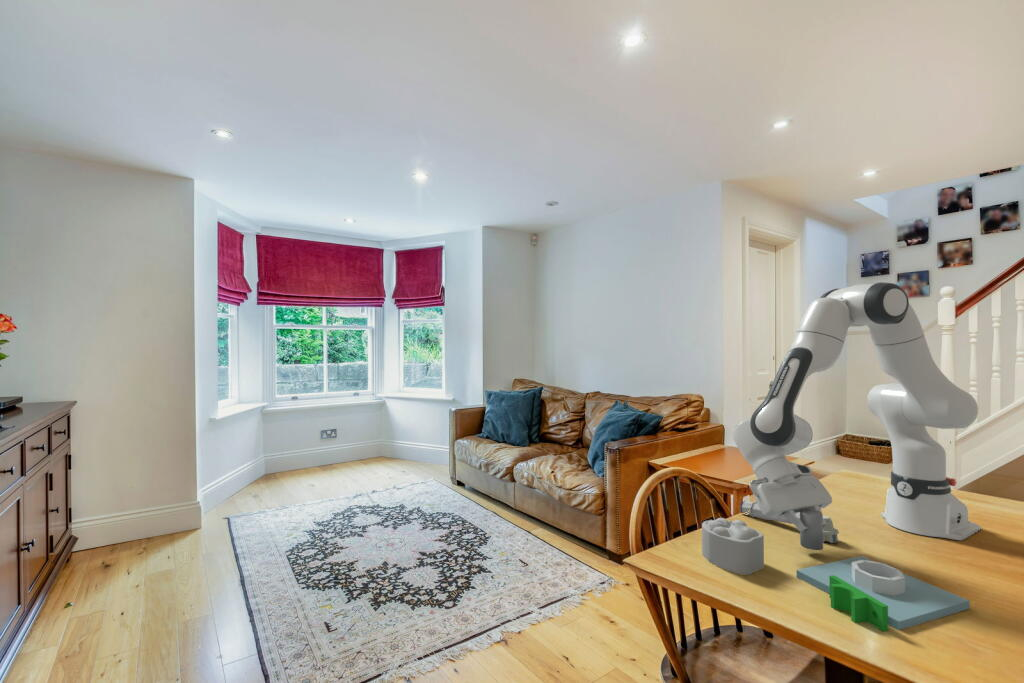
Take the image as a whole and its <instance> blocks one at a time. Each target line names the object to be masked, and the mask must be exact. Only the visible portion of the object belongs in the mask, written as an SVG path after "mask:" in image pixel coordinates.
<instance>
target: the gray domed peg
mask: <svg viewBox="0 0 1024 683" xmlns="http://www.w3.org/2000/svg"><path fill="white" fill-rule="evenodd" d="M799 513H800V520H801V521H804V522H805V523H806V525H807V526H808V529H807V530H806V531H802V532H800V531H799V538H800V539H799V541H800V543H799V544H800V546H801V547H802V548H804V549H808V550H811V551H822V550H823V549H824V542H823V516H824V514H823V512H822V513H821V512H819V511H815V510H810V509H802V510H800V512H799Z"/></svg>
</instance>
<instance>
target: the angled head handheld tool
mask: <svg viewBox="0 0 1024 683" xmlns="http://www.w3.org/2000/svg"><path fill="white" fill-rule="evenodd" d="M739 510H740V513H741V514H742V513H745V512H747V513H749V514H748V515H750V516H749V517H751V516H752V518H753V517H757V518H756V519H763V520H770V521H774V522H779V523H780V522H781V523H783V524H784V523H785V524H791V525H793V524H792V523H791V522H790V521H788V520H787V519H786V518H785V516H784V515H782V516H777V517H771V518H768V517H766V516H765V515H764V514H763V513H762V511H761V510H760V508H759V506H758V504H757V502H756V501H754V502H752V501H745V500H744V501H742V502H740V506H739ZM749 510H750V511H749ZM748 511H749V512H748ZM747 513H745V514H747ZM795 516H796V517H797V518H798V519H800V512H799V513H796V515H795ZM823 519H824V520H825V522H826V523H827V525H826V526H825V527H823V543H825V542H829V543H830V544H833V543H837V542H839V540H838V535H839V533H840V532H839V530H838V528H835V527H834V523H833V520H832V518H831V517H830V516H828V515H823Z"/></svg>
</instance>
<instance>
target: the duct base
mask: <svg viewBox="0 0 1024 683" xmlns="http://www.w3.org/2000/svg"><path fill="white" fill-rule="evenodd" d="M832 575H835V576H836V577H838V578H840V579H842V580H843V581H845V582H847V583H849V584H850V585H852V586H854V587H856V588H857V589H859V590H861V591H862V592H864V593H866V594H868V595H869V596H871V597H873V598H875V599H876V600H878V601H880V602H882V603H883V604H885V605H887V606H888V626H890V627H892V628H894V629H895V630H897V631H901V630H904V629H908V628H911V627H914V626H917V625H920V624H921V625H922V624H925V623H926V622H930V621H933V620H938V619H940V618H944V617H946V616H950V615H954V614H956V613H959V612H963V611H966V610H970V609H971V606H970V605H971V604H970V603H971V602H970V600H969V599H967V598H964V597H961V596H959V595H958V594H954V593H952V592H950V591H947V590H945V589H942V588H940V587H938V586H935V585H933V584H931V583H927V582H925V581H923V580H921V579H918V578H916V577H914V576H911V575H909V574H906V573H904V572H902V571H901V570H900V569H898V568H895V567H893V566H890V565H889V564H886V563H884V562H879V561H875V560H872V559H870V558H867V557H865V556H863V555H859V556H855V557H854V556H853V557H850V558H846V559H840V560H837V561H832V562H827V563H823V564H818V565H813V566H808V567H806V568H805V567H803V568H800V569H796V578H798V579H799V580H801V581H803V582H806V583H807V584H809V585H811V586H813V587H815V588H816V589H819V590H820V591H823V592H825V593H827V594H829V595H830V582H829V576H832Z"/></svg>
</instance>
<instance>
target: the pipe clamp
mask: <svg viewBox="0 0 1024 683" xmlns="http://www.w3.org/2000/svg"><path fill="white" fill-rule="evenodd" d="M829 582H830V594H829V598H830V608H832V609H833V610H839V611H843V612H847V613H849V614H850V616H851V619H850V621H851V622H853V623H854V624H858V623H869V624H870V625H872V626H874V627H875V628H877V629H878V630H880V631H881V632H889V625H888V606H887V605H885V604H883V603H882V602H880V601H878V600H876V599H875V598H873V597H871V596H869V595H868V594H866V593H864V592H862V591H861V590H859V589H857V588H856V587H854V586H852V585H850V584H849V583H847V582H845V581H843V580H842V579H840V578H838V577H836V576H835V575H832V576H829Z"/></svg>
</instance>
